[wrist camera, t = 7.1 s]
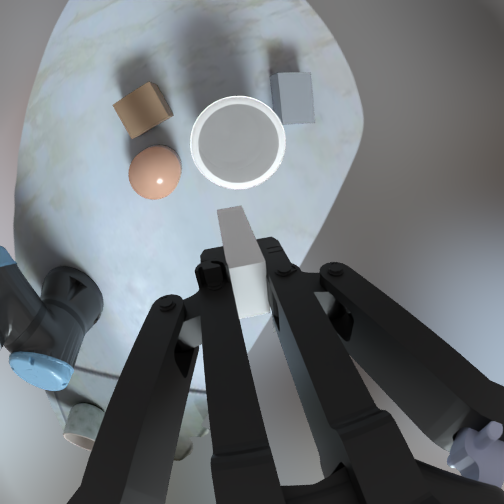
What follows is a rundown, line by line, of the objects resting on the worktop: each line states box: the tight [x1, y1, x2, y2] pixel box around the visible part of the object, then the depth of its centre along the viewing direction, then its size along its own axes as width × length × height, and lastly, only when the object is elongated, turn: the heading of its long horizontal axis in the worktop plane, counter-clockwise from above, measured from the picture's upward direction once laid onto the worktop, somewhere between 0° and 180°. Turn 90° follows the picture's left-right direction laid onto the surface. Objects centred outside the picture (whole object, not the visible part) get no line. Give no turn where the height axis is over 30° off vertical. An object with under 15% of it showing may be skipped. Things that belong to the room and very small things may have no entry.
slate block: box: [270, 72, 315, 125], centre depth 36 cm, size 5×8×5 cm, turn 6°
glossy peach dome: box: [129, 145, 182, 199], centre depth 39 cm, size 8×8×4 cm
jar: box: [190, 96, 286, 190], centre depth 34 cm, size 11×10×15 cm
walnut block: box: [113, 82, 174, 139], centre depth 33 cm, size 6×6×6 cm
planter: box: [63, 403, 105, 451], centre depth 67 cm, size 17×17×15 cm
